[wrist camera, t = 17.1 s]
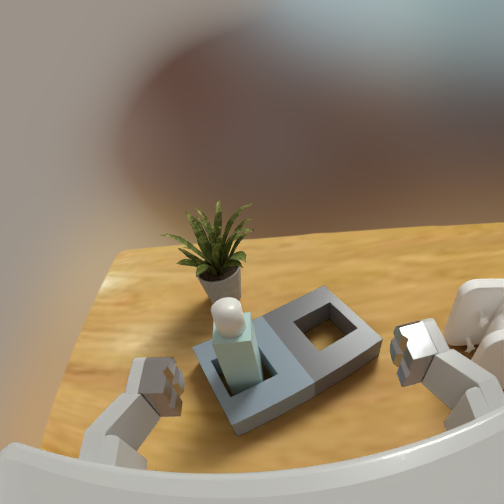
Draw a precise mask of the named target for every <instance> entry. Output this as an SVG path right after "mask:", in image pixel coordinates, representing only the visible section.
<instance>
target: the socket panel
mask: <svg viewBox="0 0 504 504" xmlns="http://www.w3.org/2000/svg"><path fill="white" fill-rule="evenodd" d="M328 319H330V320H331V321H332V322H333V323H334V324H335V325H336V326H337V327H338V328H339V329H340V330H341V331H342V332H343V333H344V334H345V335H346V336H345V337H343V338H341V339H340V340H338V341H336V342H335V343H333V344H331V345H330V346H328V347H326V348H324V349H323V350H321V351H318V350H317V348H316V347H315V346H314V345H313V344H312V343H311V342H310V341H309V339H308V338H307V337H306V336H305V335H304V334H303V333H304V332H306V331H308V330H310V329H312V328H314V327H315V326H317V325H319V324H321V323H323V322H325V321H326V320H328ZM252 322H253V326H254V331H255V335H256V339H257V344H258V348H259V353H260V357H261V361H262V363H263V364H264V365H265V367H266V368H267V370H268V371H269V373H270V374H271V376H272V377H271V378H269V379H267V380H265V381H263V382H261V383H259V384H257V385H255V386H253V387H251V388H249V389H247V390H245V391H243V392H241V393H239V394H237V395H234V396H232V397H230V396H229V394H228V392H227V390H226V388H225V387H224V385H223V383H222V381H221V379H220V377H219V374H222V373H223V371H222V369H221V366H220V364H219V361H218V359H217V356H216V354H215V351H214V349H213V346H212V339H210V340H208V341H206V342H203V343H201V344H199V345H196V346H194V347H192V348H193V350H194V352H195V354H196V356H197V358H198V361H199V363H200V365H201V367H202V369H203V371H204V373H205V375H206V377H207V379H208V381H209V383H210V385H211V387H212V389H213V391H214V393H215V395H216V397H217V399H218V401H219V403H220V404H221V406H222V408H223V410H224V412H225V414H226V416H227V418H228V419H229V421H230V423H231V425H232V427H233V429H234V430H235V432H236V434H237V436H239V435H242V434H244V433H246V432H248V431H250V430H252V429H254V428H256V427H258V426H260V425H262V424H264V423H266V422H268V421H270V420H272V419H274V418H276V417H278V416H280V415H282V414H284V413H285V412H287V411H289V410H291V409H293V408H295V407H296V406H298V405H300V404H302V403H304V402H305V401H307V400H309V399H311V398H312V397H314V396H316V395H317V394H319V393H321V392H322V391H324V390H326V389H327V388H329V387H331V386H332V385H334V384H336V383H337V382H339V381H340V380H342V379H343V378H345V377H347V376H348V375H350V374H351V373H353V372H354V371H356V370H357V369H359V368H360V367H362V366H363V365H365V364H366V363H368V362H369V361H371V360H372V359H374V358H375V357H376V356H378V355H379V352H380V348H381V344H382V340H383V339H382V338H381V337H380V336H379V335H378V334H377V333H376V332H375V331H374V330H373V329H372V328H370V327H369V326H368V325H367V324H366V323H365V322H364V321H363V320H362V319H361V318H359V317H358V316H357V315H356V314H355V313H354V312H353V311H352V310H351V309H350V308H348V307H347V306H346V305H345V304H344V303H343V302H342V301H341V300H340V299H338V298H337V297H336V296H335V295H334V294H333V293H332V292H331V291H329V290H328V289H327V288H326V287H325V286H324V285H323V286H321V287H319V288H317V289H316V290H314V291H312V292H310V293H308V294H306V295H304V296H302V297H300V298H298V299H296V300H294V301H292V302H289V303H287V304H285V305H283V306H281V307H279V308H277V309H275V310H273V311H271V312H269V313H267V314H265V315H263V316H260V317H258V318H256V319H254V320H252Z"/></svg>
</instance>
